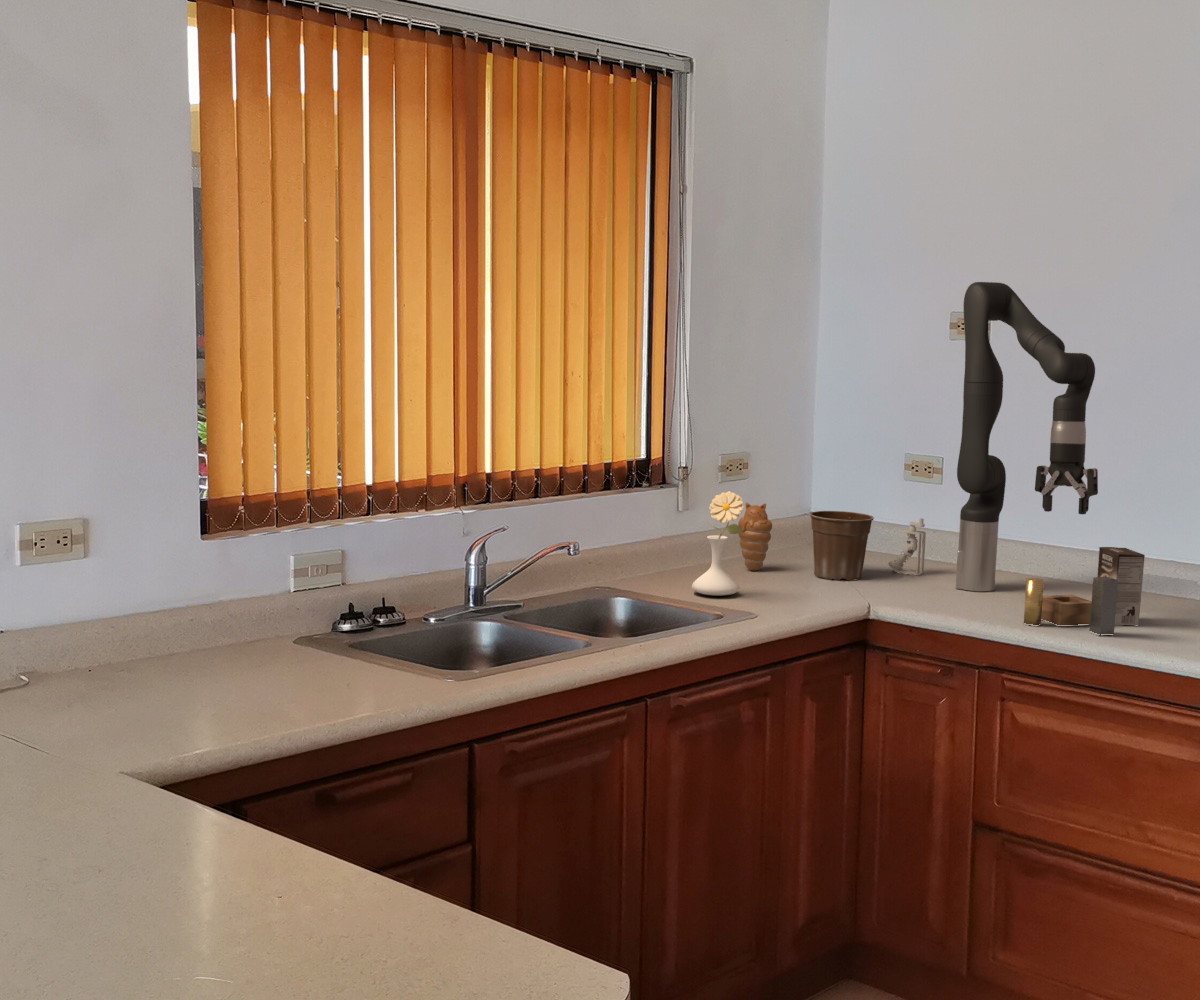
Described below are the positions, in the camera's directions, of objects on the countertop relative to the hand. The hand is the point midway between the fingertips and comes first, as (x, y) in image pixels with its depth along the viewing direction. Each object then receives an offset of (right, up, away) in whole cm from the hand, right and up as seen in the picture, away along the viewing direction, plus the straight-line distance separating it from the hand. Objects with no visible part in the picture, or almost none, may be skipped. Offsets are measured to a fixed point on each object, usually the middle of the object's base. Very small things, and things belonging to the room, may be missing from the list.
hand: (1064, 512), depth 299 cm
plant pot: (-44, -17, +41) cm, 62 cm away
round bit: (-11, -24, -11) cm, 29 cm away
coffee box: (+9, -24, -6) cm, 27 cm away
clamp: (-25, -17, +48) cm, 57 cm away
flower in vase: (-78, -20, +14) cm, 81 cm away
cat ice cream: (-65, -16, +46) cm, 82 cm away
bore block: (-3, -24, -7) cm, 25 cm away
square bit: (+1, -26, -19) cm, 32 cm away
